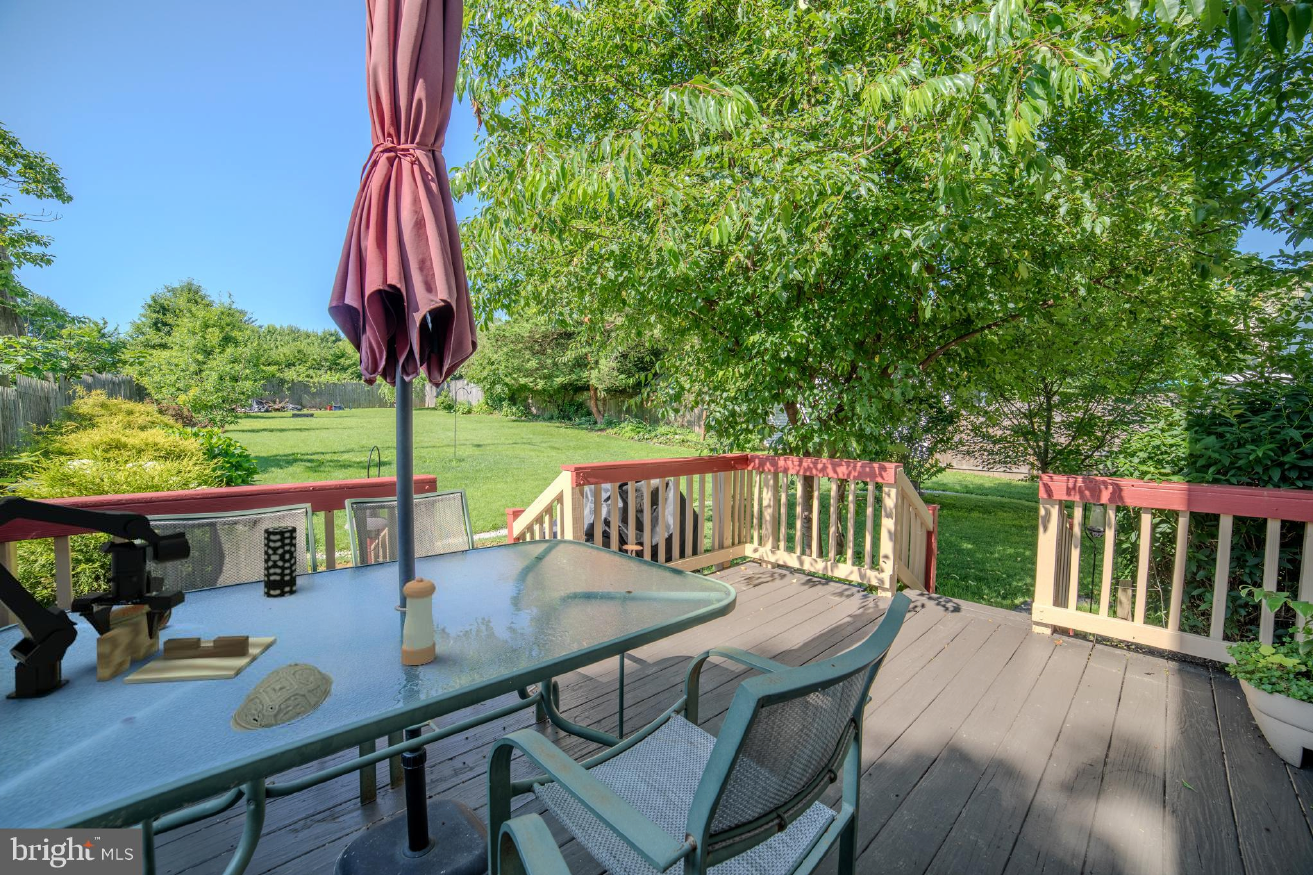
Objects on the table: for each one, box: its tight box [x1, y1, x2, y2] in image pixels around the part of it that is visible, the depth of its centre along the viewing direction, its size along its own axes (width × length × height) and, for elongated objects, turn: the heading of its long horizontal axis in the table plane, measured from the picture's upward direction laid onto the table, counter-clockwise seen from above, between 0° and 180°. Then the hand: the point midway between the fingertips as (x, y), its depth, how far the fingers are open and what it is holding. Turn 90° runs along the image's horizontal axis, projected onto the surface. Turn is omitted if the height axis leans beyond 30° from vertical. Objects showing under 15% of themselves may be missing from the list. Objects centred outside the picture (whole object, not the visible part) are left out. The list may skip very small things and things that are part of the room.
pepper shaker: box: [400, 576, 437, 666], centre depth 133 cm, size 7×7×19 cm
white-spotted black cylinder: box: [263, 525, 298, 599], centre depth 177 cm, size 8×8×20 cm
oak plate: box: [96, 613, 160, 682], centre depth 127 cm, size 16×2×9 cm, turn 11°
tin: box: [110, 605, 173, 631], centre depth 142 cm, size 15×3×8 cm, turn 168°
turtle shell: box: [230, 661, 334, 732], centre depth 114 cm, size 16×25×7 cm, turn 16°
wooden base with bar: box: [123, 635, 277, 685], centre depth 130 cm, size 20×20×5 cm
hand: (129, 639), depth 127 cm, fingers open, 8 cm apart
